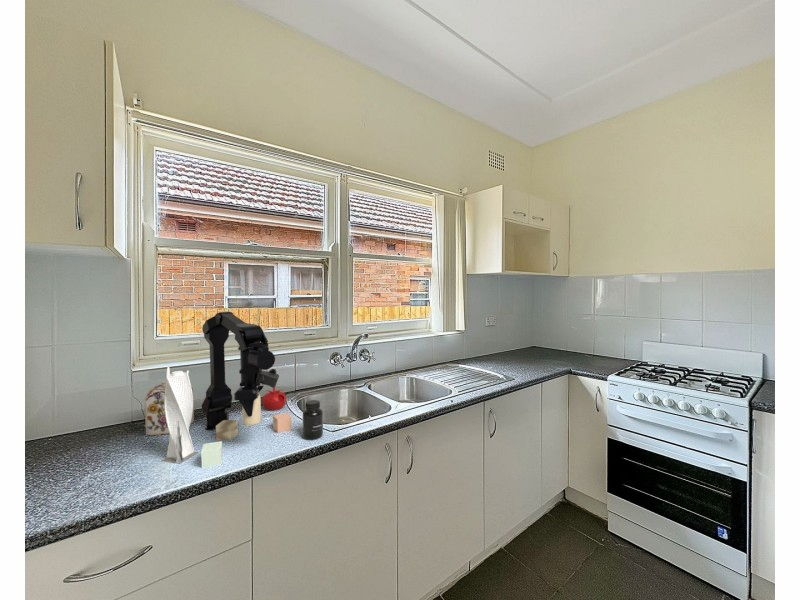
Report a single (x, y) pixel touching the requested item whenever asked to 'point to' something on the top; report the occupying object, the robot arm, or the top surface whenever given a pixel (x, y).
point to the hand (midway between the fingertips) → (251, 413)
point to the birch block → (227, 430)
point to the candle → (255, 415)
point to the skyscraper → (178, 416)
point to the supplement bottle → (312, 420)
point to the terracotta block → (282, 422)
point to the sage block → (211, 454)
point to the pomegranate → (274, 400)
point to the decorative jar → (157, 411)
